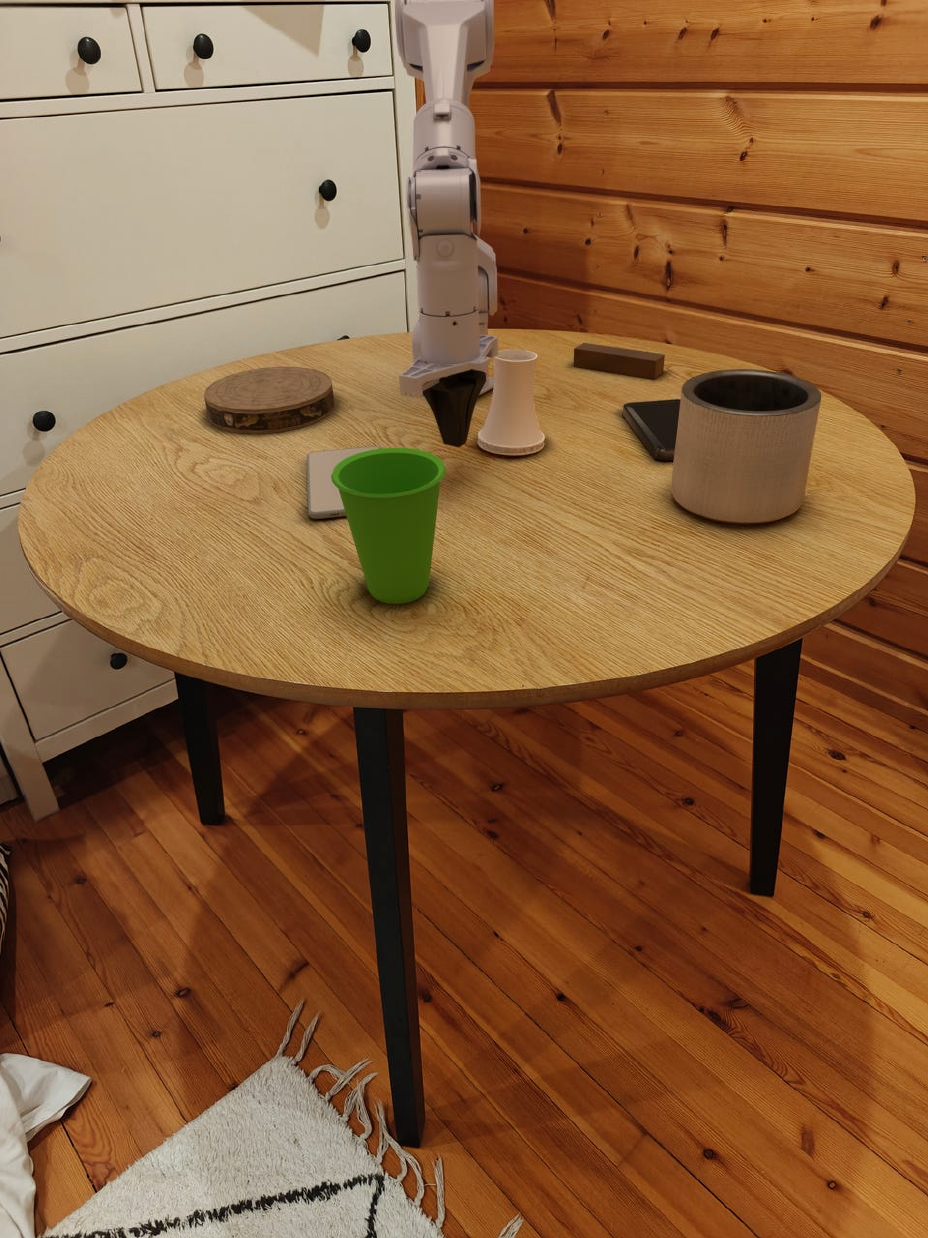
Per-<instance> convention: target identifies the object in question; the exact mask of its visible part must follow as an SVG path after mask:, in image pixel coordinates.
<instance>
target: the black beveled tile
mask: <svg viewBox="0 0 928 1238" xmlns="http://www.w3.org/2000/svg"><path fill="white" fill-rule="evenodd" d="M680 401H681V398H674V399H673V398H672V399H660V400H645V401H644V400H643V401H633V402H631V401H630V402H626V403H624V404H622V416H623V417H624V419H625V420H626V422H627V423H628V425H629V426H630V427H631V428H632V430H633V431H634V433H635V434H636V435H637V437H638V438H639V440H640V441H641V443H642V444H643V445H644V447H645V448H646V450H647V451H648V453H649V454H650V455H651V457H652V458H653V459H655V460H657V461H662V462H663V461H665V462H666V461H674V454H675V446H676V437H677V429H678V420H679V411H680Z"/></svg>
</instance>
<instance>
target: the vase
mask: <svg viewBox="0 0 928 1238" xmlns="http://www.w3.org/2000/svg"><path fill="white" fill-rule="evenodd" d="M538 357H539V356H538V354H537V353H536V352H533V351H530V350H525V349H519V348H517V349H514V348H512V349H511V348H509V349H500V350H498V355H497V356H495V357H493V358H492V362H493V378H494V387H493V388H492V389H493V390H492V396H491V402H490V406H489V410H488V413H487V416H486V419H485V422H484V424H483V427H482V429H480V430H479V431H478V432H477V445H478V446H479V448H481V449H483V450H484V451H487V452H488V453H489V452H490V453H493V454H497V455H502V456H503V455H504V456H525V455H532V454H535V453H537V452H540V451H542V450H543V449H544V447H545V439H546V436H545V433H543V432H542V431H541V427H540V424H539V421H538V416H537V411H536V404H535V373H536V367H537V362H538Z"/></svg>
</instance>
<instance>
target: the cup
mask: <svg viewBox="0 0 928 1238" xmlns="http://www.w3.org/2000/svg"><path fill="white" fill-rule="evenodd" d="M380 448H381V447H380ZM446 471H447V469H446V466H445V464H444V462H443V460H442V459H440V457H438V456H437V455H435V454H433V453H431V452H429V451H426V450H421V449H419V448H409V447H383V448H381V449H375V450H369V451H365V452H361V453H357V454H355V455H352V456H350V457H348V458H346V459H344V460H343V461H341V462H339V463H338V464H337V465H336V467H335V468H334V470H333V472H332V475H331V479H332V483H333V484H334V485H335V486H336V487H337V488H338V489H339V493H340V496H341V499H342V503H343V506H344V509H345V513H346V516H345V517H346V520H347V522H348V526H349V529H350V533H351V536H352V540H353V543H354V547H355V550H356V553H357V556H358V560H359V563H360V566H361V571H362V574H363V576H364V581H365V584H366V587H367V591H369V593H370V594H371V596H372V597H373V598H374V599H375V600H377V601H379V602H382V603H385V604H392V605H398V604H399V605H400V604H406V603H411V602H413V601H416V600H418V599H420V598H421V597H423V596H424V595H425V594H426V592H427V590H428V587H429V586H430V579H431V571H432V570H431V569H432V561H433V553H434V545H435V544H434V542H435V534H436V526H437V525H436V524H437V516H438V507H439V497H440V488H441V482H442V479H443V478H444V477H445V475H446Z"/></svg>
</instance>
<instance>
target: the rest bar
mask: <svg viewBox="0 0 928 1238" xmlns="http://www.w3.org/2000/svg"><path fill="white" fill-rule="evenodd" d="M665 357H666V354H664V353H657V352H650V351H643V350H637V349H631V348H624V347H623V348H622V347H617V346H610V345H601V344H594V343H588V342H583V343H581V344H579V345H578V346H575V347H574V348H573V367H576V368H583V369H589V370H594V371H601V372H605V373H606V372H607V373H612V374H619V375H626V376H632V377H637V378H645V379H649V380H656V379H657V378H658V377H660V376H661V375H663V374H664V371H665V360H666V359H665Z"/></svg>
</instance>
